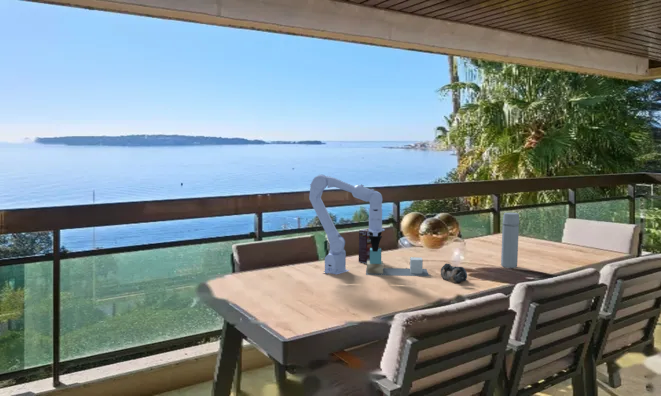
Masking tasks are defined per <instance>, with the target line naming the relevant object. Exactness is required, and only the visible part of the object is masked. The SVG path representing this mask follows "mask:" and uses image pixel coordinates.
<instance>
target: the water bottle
mask: <svg viewBox="0 0 661 396" xmlns="http://www.w3.org/2000/svg"><path fill="white" fill-rule="evenodd" d="M502 216H503V218H502V222H501V225H502V229H501V255H500V258H501V260H500V265H501V266H502V267H503V268H506V269H516V268H517V267H518V258H519V257H518V255H519V253H518V251H519V234H520V233H519V231H520V227H519V225H520V213H518V212H504V213H503V215H502Z"/></svg>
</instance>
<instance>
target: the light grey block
mask: <svg viewBox="0 0 661 396" xmlns="http://www.w3.org/2000/svg"><path fill="white" fill-rule="evenodd" d="M423 261H424V260H423V257H415V256H414V257H412V256H411V257H410V258H409V269H410V272H411V273H415V274H422V269H424V267H423Z"/></svg>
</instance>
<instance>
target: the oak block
mask: <svg viewBox="0 0 661 396" xmlns="http://www.w3.org/2000/svg"><path fill="white" fill-rule="evenodd" d="M366 268H367V273H380V274H383V268H384V261H383V260H381V264H370V261H367V263H366Z"/></svg>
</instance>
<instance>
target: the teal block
mask: <svg viewBox="0 0 661 396" xmlns="http://www.w3.org/2000/svg"><path fill="white" fill-rule="evenodd" d="M381 261H382V247H379V248H378V252H373V250H372V248H370V264H381Z"/></svg>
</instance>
